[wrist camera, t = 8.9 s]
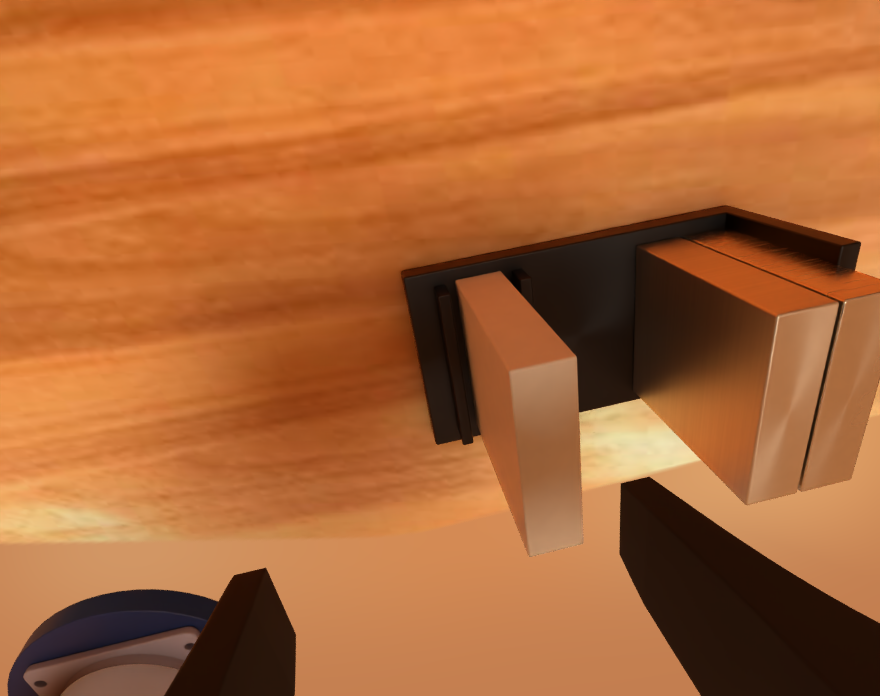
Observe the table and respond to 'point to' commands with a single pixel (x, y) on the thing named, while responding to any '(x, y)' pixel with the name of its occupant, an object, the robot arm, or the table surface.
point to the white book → (525, 410)
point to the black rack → (690, 338)
